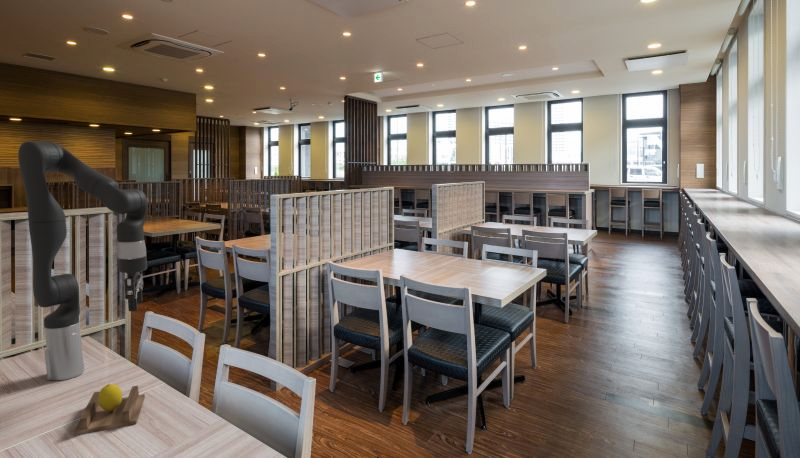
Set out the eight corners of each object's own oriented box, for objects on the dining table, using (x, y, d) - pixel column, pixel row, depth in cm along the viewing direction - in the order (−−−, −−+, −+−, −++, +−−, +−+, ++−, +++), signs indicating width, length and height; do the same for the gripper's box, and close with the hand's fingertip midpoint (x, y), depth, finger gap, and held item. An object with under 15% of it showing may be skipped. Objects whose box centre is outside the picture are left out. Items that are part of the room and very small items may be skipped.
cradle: (74, 435, 117) (72, 420, 116) (89, 406, 131) (88, 393, 130) (136, 423, 122) (135, 409, 121) (144, 397, 136) (143, 384, 135)
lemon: (109, 405, 129) (106, 378, 128) (128, 406, 129) (125, 379, 127) (95, 416, 124) (91, 388, 122) (114, 417, 123) (111, 389, 122)
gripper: (123, 251, 144) (126, 301, 147) (112, 260, 131) (116, 315, 134) (149, 250, 147) (153, 299, 149) (141, 259, 134) (145, 312, 136)
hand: (135, 306), depth 141 cm, fingers open, 8 cm apart
